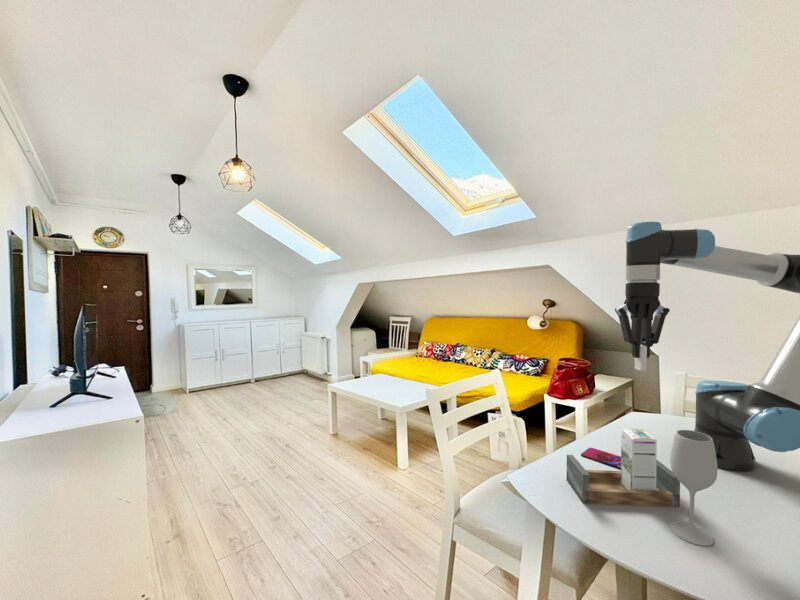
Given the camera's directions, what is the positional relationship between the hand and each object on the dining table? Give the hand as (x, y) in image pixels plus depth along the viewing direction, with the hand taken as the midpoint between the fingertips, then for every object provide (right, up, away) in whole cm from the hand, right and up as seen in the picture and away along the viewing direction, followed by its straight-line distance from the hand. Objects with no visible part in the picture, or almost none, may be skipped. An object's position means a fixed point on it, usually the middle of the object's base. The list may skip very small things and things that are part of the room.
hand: (640, 369), depth 96 cm
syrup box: (-5, -29, -7) cm, 30 cm away
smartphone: (-2, -30, +10) cm, 31 cm away
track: (-9, -30, -6) cm, 32 cm away
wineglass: (-3, -31, -21) cm, 37 cm away
